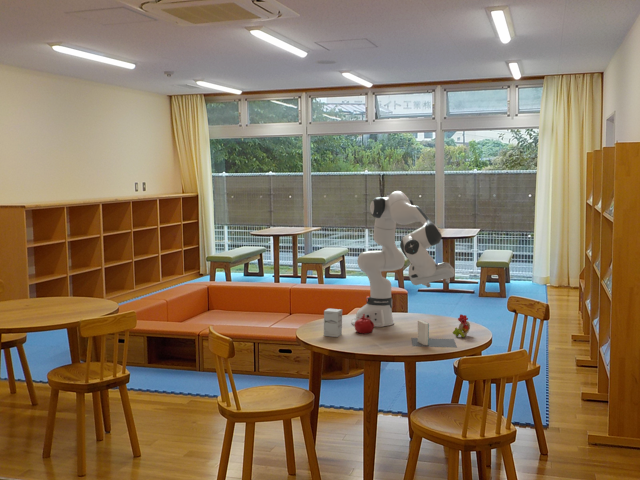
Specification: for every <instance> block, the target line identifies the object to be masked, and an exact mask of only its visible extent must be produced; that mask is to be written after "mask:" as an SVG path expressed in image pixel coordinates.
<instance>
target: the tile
mask: <svg viewBox="0 0 640 480" xmlns="http://www.w3.org/2000/svg"><path fill="white" fill-rule="evenodd" d="M429 335H430V323H428V322H426V321H424V320H421V319H420V320H417V338H418V342H419V343H421V344H423V345H429V337H430V336H429Z"/></svg>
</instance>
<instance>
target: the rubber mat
mask: <svg viewBox="0 0 640 480" xmlns="http://www.w3.org/2000/svg"><path fill="white" fill-rule="evenodd" d="M411 344H412V347H419V348H420V347H425V348H458V346H457V344H456V341H455V339H454V338H429V345H423V344H421V343H419V342H418V337H411Z"/></svg>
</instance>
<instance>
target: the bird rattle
mask: <svg viewBox="0 0 640 480" xmlns="http://www.w3.org/2000/svg"><path fill="white" fill-rule="evenodd" d="M457 320H458V322H459V323H460V324H459V326H458V327H455V328H454V330H453V332H452V334H453V335H455V337H456V336H457V337H459V336H460V337H462V338H465V337H466V336H467V335H468V334H469V331H470V329H471V325H470V324H471V323H470V322H469V321H468V320H469V318H468V317H467V315H463V314H459V317H458V318H457Z"/></svg>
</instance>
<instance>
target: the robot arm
mask: <svg viewBox="0 0 640 480" xmlns="http://www.w3.org/2000/svg"><path fill="white" fill-rule="evenodd" d="M369 210H370V214H371V216H372V217H373V218H375V220H374V227H373V238H372V239H373V241H374V242H375V244H377V245H379V246H381V250H367V251H362V252H360V253H359V255H358V256H357V259H356V261H357V266H358V268H359V269H360V270H361V271H362V272H363V273H365V275H366V276H367V278H368V281H369V287H370V289H369V290H370V292H369V293H370V296H369V295H368V296H366V297H365V300H366V303H365V304H364V305H363V306H362V307H360V308H359V309H358V310H357V312H356V315H355V318H353V319H352V320H351V324H352V325H353V326H355V322H356V321H357V320H359V319H361V318H362V316H363V314H365V318H366V317H368V318H367V319H370V320H371V321H372V322H373V323H374V327H375V328H376V327H378V328H381V327H382V328H384V327H386V326H393V325H394V324H395V322H394V319H393V312H392V311H393V310H392V308H393V297H392V282H391V281H390V280H389V279H388V278H386V277H385V276H383V275H382V272H391V271H398V270H401V269H402V268H403V267H404V265H405V263H406V259H407V260H408V261H409V262H410V263H411V264H409V266H408V278H409V280H410V282H411V284H412V285H413V286H419V285H420V286H421V285H422V286H425V287H426V288H431V283H432V282H436V281H437V282H438V281H440V280H445V281H444V282H445V283H446V284H449V283H451V281H450V278H453V277H455V273H456V272H455V271H456V269H455V268H454V267H453V265H451V263H450V262H446V261H445V262H444V261H443V262H440V263H436V261H435V260H434V258H433V257H432V256H431V255H430V254H429V251H428V250H427V249H429V248H430V247H433V246H435V245H438V244H439V243H440V242H441V240H442V237H443V236H442V232H441V230H440V229H439V227H438V226H437V225H436V224H435V223H434V222H433V221H432V220H431V218H430V217H429V216H428V215H427V214H426V212H425V211H424V210H423V209H422V208H421V207H420V206H419V205H415V204H414V202H413V200H412V198H408V196H407V195H406V194H405V193H404V192H403V191H400V190H396V191H395V190H394V191H393V192H391V193H390V194H389V195H388V196H384V197H383V196H382V197H381V196H377V197H374V198H373V199H372V200H371V201H370V206H369ZM414 223H421V224H422V225H421V227H419V228H417V229H415V230H413V231H411V232H410V233H408V234H406V235H404V236H403V237H401V241H400V245H399V246H400V250H401V251H400V250H399V248H398V247H397V244H396V228H397V224H398V225H401V226H407V225H410V224H414ZM358 317H359V318H358ZM369 317H370V318H369Z"/></svg>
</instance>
